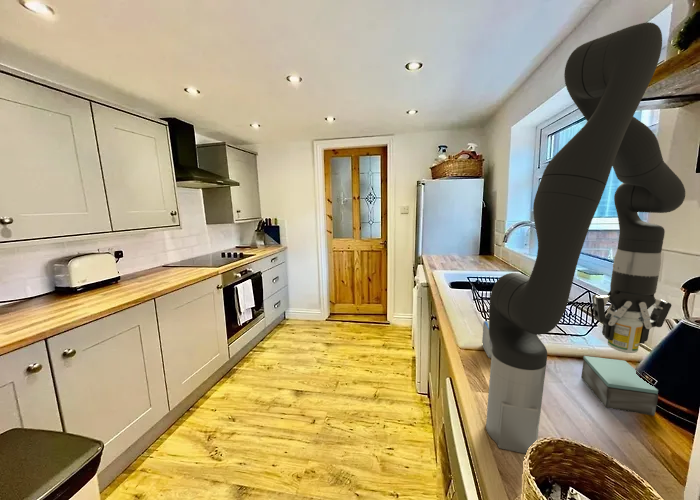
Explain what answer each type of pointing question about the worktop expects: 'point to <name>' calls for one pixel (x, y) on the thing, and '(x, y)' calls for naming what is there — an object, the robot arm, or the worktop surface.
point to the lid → (619, 374)
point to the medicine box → (487, 339)
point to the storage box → (619, 395)
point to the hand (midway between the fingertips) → (623, 340)
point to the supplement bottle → (627, 333)
